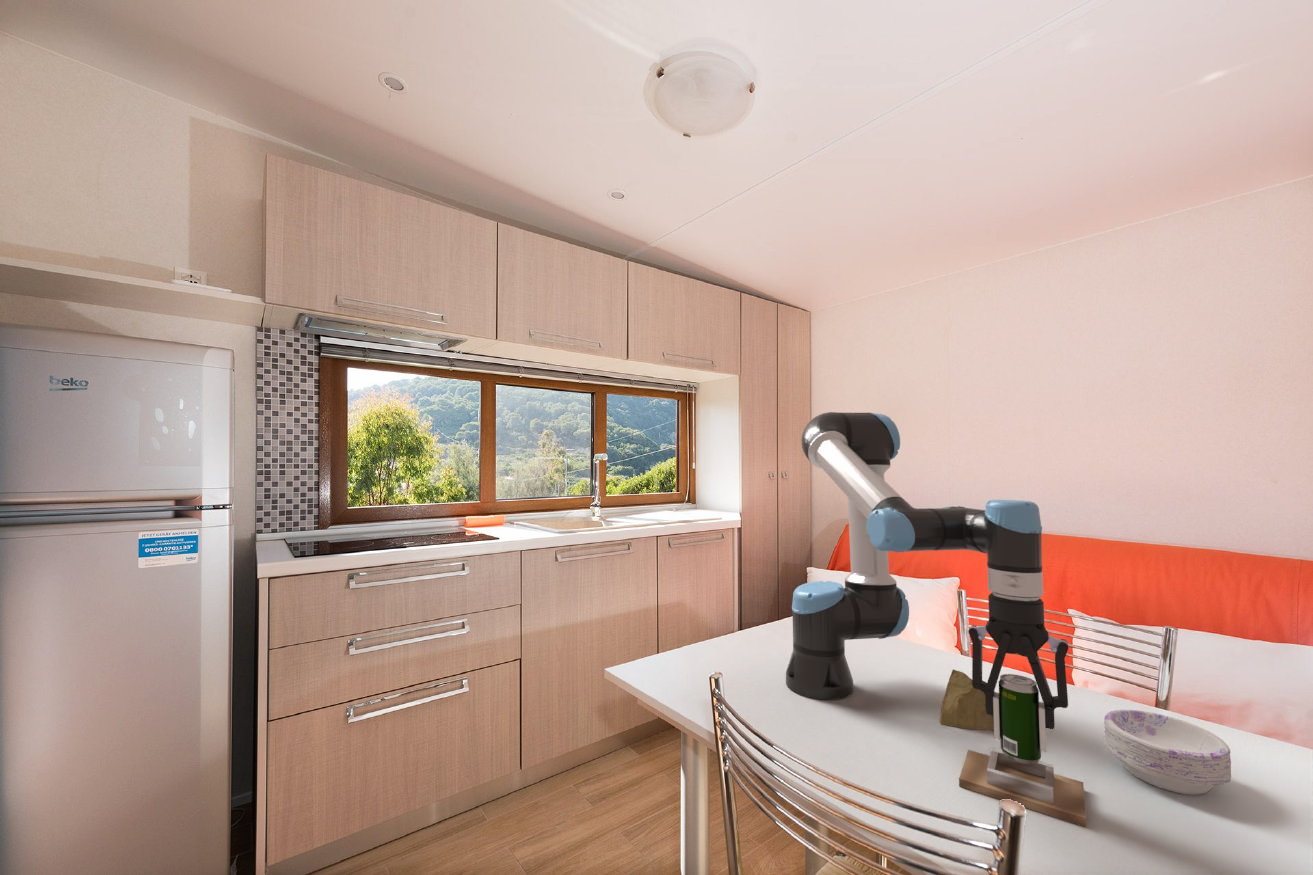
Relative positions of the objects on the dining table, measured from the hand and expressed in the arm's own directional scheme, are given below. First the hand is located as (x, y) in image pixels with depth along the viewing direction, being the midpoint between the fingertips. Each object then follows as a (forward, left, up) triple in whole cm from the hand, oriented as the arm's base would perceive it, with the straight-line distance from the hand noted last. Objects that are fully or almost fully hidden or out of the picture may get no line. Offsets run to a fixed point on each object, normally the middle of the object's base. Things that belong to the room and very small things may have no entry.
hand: (1020, 741), depth 86 cm
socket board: (0, 0, -7) cm, 7 cm away
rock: (-9, +19, -8) cm, 22 cm away
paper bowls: (+19, +18, -8) cm, 27 cm away
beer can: (0, 0, -2) cm, 3 cm away
